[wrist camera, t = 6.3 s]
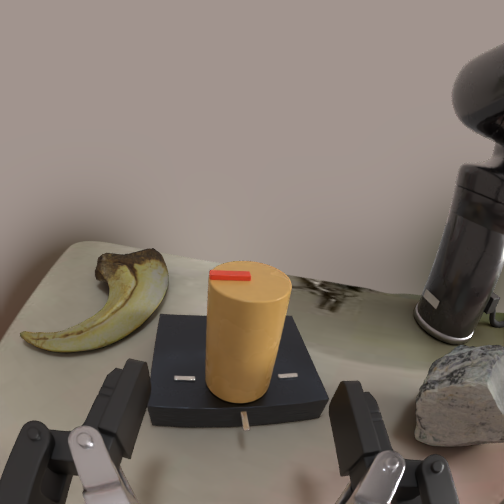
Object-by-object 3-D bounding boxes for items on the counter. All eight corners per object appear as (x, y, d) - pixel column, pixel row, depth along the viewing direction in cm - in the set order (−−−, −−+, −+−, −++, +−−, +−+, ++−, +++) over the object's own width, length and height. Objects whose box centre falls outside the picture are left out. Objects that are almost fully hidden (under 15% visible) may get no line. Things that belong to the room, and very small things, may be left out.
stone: (527, 319, 13) (474, 342, 11) (533, 432, 9) (473, 497, 7) (449, 347, 22) (376, 366, 19) (455, 438, 17) (381, 478, 15)
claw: (121, 259, 37) (119, 237, 35) (188, 275, 36) (188, 251, 34) (25, 346, 19) (13, 318, 18) (105, 390, 18) (95, 362, 17)
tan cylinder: (262, 356, 21) (281, 257, 17) (275, 401, 17) (304, 296, 13) (204, 357, 20) (207, 254, 16) (206, 404, 16) (210, 295, 12)
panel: (286, 335, 27) (292, 314, 26) (326, 436, 16) (338, 417, 15) (161, 335, 25) (159, 312, 24) (150, 446, 14) (143, 428, 13)
